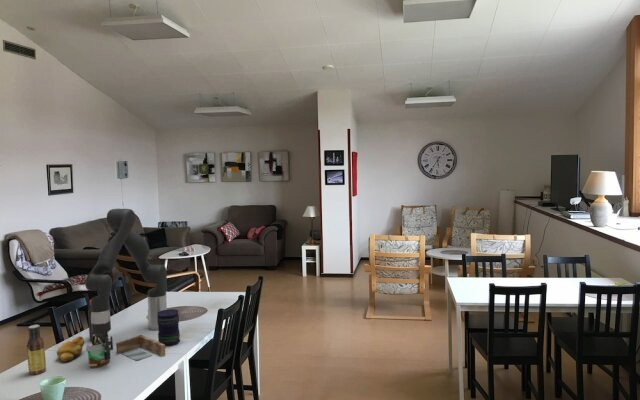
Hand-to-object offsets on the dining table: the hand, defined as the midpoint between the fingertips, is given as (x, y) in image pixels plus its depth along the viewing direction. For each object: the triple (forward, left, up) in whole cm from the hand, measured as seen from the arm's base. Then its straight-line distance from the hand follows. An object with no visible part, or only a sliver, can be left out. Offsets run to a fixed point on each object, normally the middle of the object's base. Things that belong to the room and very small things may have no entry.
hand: (102, 357), depth 202 cm
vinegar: (-31, +12, -3) cm, 33 cm away
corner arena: (+4, +15, -3) cm, 16 cm away
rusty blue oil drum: (+2, +31, -3) cm, 31 cm away
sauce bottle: (-14, -21, -3) cm, 25 cm away
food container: (0, 0, -3) cm, 3 cm away
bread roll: (-19, -6, -3) cm, 20 cm away
